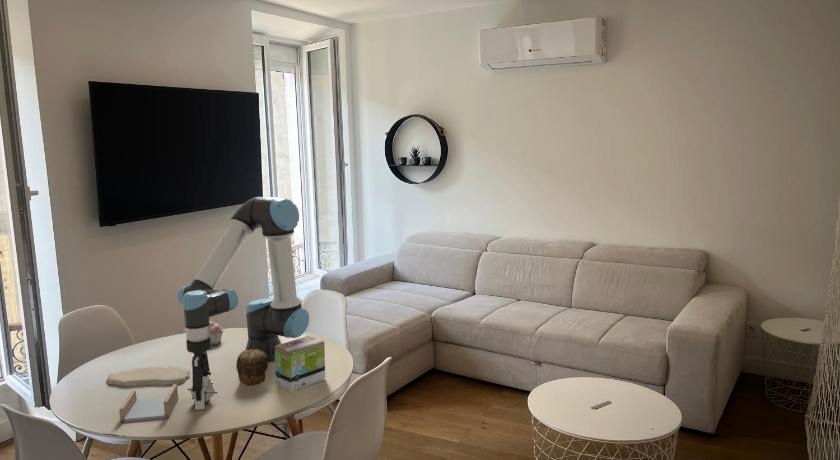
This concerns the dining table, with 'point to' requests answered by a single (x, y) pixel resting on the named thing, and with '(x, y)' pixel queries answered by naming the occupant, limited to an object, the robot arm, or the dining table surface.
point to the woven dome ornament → (252, 367)
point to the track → (148, 407)
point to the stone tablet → (149, 376)
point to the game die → (205, 390)
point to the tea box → (299, 363)
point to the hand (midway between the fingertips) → (203, 401)
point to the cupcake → (215, 333)
